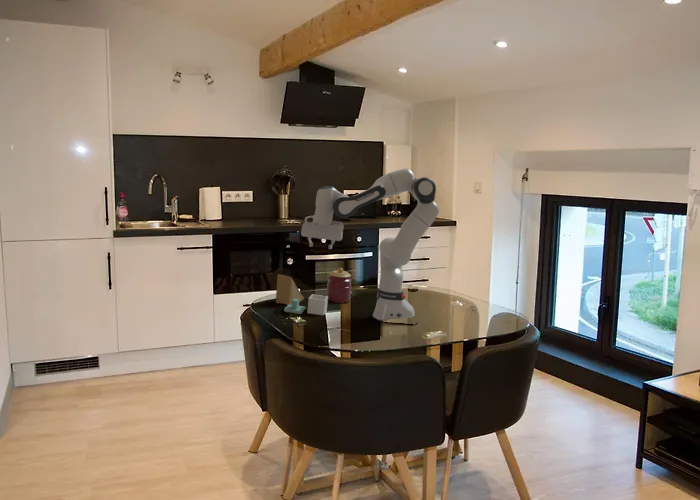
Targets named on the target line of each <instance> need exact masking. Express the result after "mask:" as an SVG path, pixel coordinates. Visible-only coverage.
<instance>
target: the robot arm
mask: <svg viewBox="0 0 700 500" xmlns="http://www.w3.org/2000/svg"><path fill="white" fill-rule="evenodd" d="M405 192H408V193H409V194H410V196H411V197H412V198H413V199H414V200H415V201H417V204H416V206H415V208H414V209H413V211H411V213H410V214H409V216H407V218H406V219H405V220H404V221H403V223H401V226H400V228H399V231H398V233H397V235H396V236H395V237H385V238H384V239H382V240H381V242H380V243H379V248H378V249H379V255H380V256H379V259H380V261H379V262H380V264H379V265H380V275H379V277H380V278H379V286H378V289H377V294H376V304H375V308H374V311H373V313H372V317H373V318H374V319H376V320H377V321H381V320H382V321H387V320H390V319H403V318H412V317H413V316H415V309H414V307H413V306H412V304H410V302H409V301H407V300H406V296H407V295H406V293H405V291H403V281H404V273H403V266H405V265H407V264H408V263H409V262H410V260H411V258H412V254H413V252H414V249H415V248H416V246H417V244H418V243H419V241H420V240H421V238H422V237H423V236H424V235H425V233H426V232H427V231H428V230H429V228H430V227H431V225H432V224H433V223H434V222H435V220H436V218H437V217H438V215H439V213H440V208H439V205H438V204H437V203H436V202H435V198H436V193H437V186H436V182H434V180H432V179H431V178H430V177H427V176H426V177H424V176H423V177H420V178H417V177H416V176H415V174H414V172H413V171H412V170H411V169H409V168H407V167H406V168H401V169H397V170H394V171H391V172H388V173H387V174H384V175H382V176H380V177H379V178H377V179H376V180H375V181H374V182H373V184H372V185H371V186H370V187H369V188H368V189H366V190H363V191H362V192H360V193H356V194H355V195H352V196H349V195H347V194H345V193H342V192H340V191H338V189H336V188H335V186H330V185H329V186H327V185H326V186H322V187H320V188H318V190H317V192H316V197H315V209H314V210H315V211H314V215H313V214H311V215H309V216H306V217H305V218H304V223H302V225H301V226H302V227H301V231H300V234H301V237H307V240H308V243H309V247H310V248H311V247H313V246H314V242H312V239H321V240H329V241H330V242H331V244H328V247H327V248H328V250H332V249H333V245H334V244H335V242H341V241H342V240H343V234H344V228H345V224H344V223H343V222H342V221H336V220H333V217H334V215H335V216H336V217H338V218H339V219H347V218H350V217H352V215H353V214H354V213H355V212H357V211H358V209H361V208H363V207H365V206H367V205H369V204H372V203H374V202H377V201H380V200H384V199H390V198H392V197H394V196H397V195H399V194H401V193H405ZM382 321H381V322H382Z"/></svg>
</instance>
